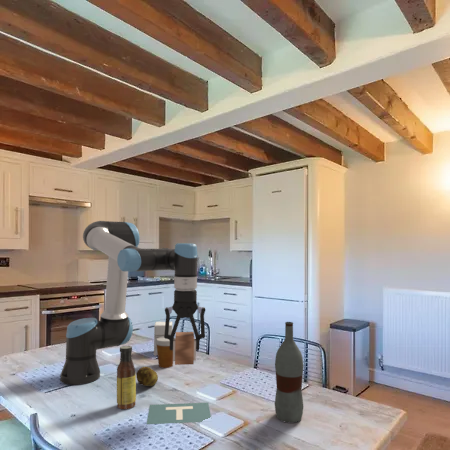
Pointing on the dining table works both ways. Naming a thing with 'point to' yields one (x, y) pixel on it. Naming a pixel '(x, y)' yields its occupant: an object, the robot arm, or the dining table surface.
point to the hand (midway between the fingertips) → (184, 359)
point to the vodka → (289, 379)
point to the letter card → (178, 413)
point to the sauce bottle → (126, 379)
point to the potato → (147, 376)
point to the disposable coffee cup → (164, 353)
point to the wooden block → (184, 348)
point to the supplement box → (160, 333)
